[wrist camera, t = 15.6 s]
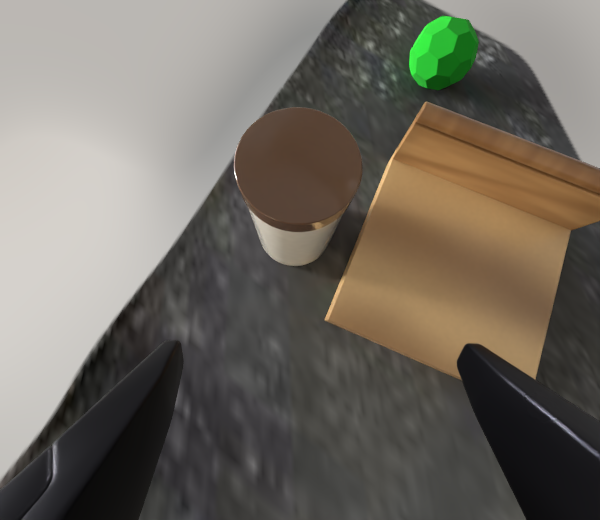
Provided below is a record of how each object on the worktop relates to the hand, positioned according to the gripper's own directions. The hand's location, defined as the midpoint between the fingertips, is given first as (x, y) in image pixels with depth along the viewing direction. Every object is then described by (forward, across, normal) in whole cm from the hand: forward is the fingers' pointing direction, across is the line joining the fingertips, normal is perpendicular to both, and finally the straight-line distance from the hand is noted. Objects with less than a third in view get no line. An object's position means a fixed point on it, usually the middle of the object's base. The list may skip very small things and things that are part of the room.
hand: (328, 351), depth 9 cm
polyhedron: (+24, -12, -9) cm, 28 cm away
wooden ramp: (+12, -11, +4) cm, 17 cm away
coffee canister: (+15, 0, +2) cm, 15 cm away
